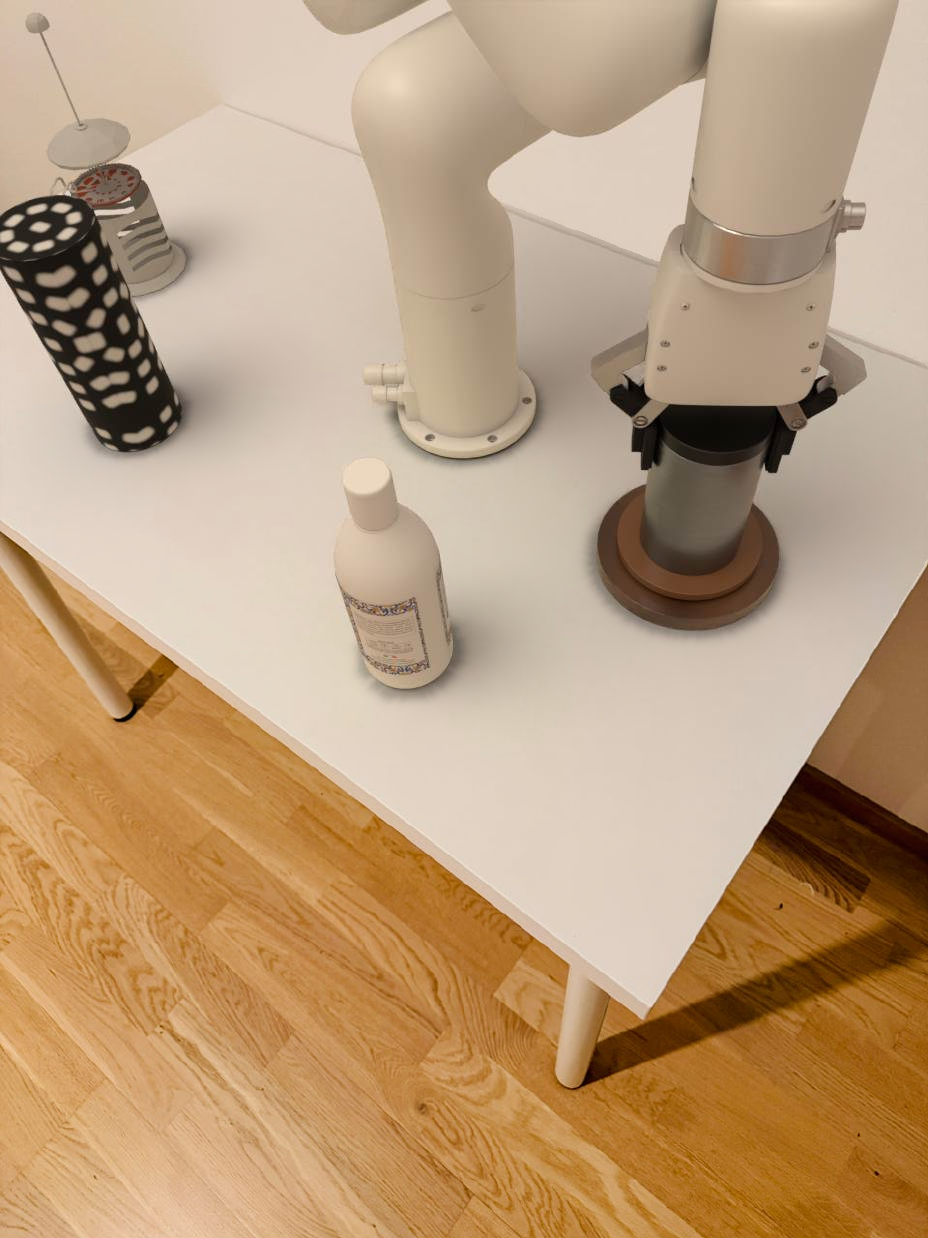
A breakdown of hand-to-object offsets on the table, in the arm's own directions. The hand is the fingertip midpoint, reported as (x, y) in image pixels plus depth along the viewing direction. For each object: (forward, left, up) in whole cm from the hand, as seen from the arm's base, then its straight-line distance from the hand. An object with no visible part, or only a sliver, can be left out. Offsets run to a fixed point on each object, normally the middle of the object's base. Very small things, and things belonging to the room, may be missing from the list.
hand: (706, 455), depth 62 cm
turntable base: (0, 0, -12) cm, 12 cm away
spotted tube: (-50, +14, -12) cm, 53 cm away
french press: (-57, +36, -12) cm, 68 cm away
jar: (0, 0, -10) cm, 10 cm away
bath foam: (-21, -10, -12) cm, 26 cm away
